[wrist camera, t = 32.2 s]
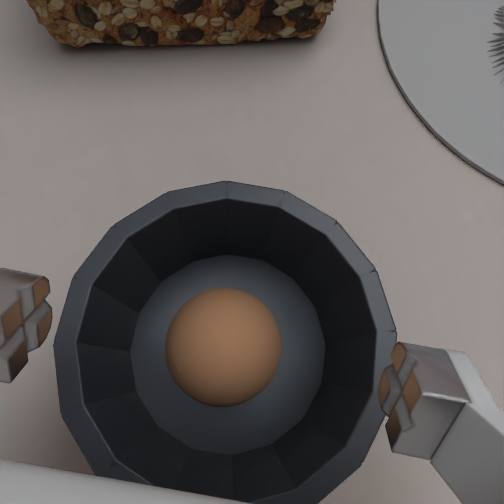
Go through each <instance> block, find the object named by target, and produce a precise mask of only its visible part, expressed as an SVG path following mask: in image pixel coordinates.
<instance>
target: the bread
mask: <svg viewBox="0 0 504 504" xmlns="http://www.w3.org/2000/svg"><path fill="white" fill-rule="evenodd" d="M27 2H28V4H29V6H30V7H31V8H32V9H33V10H34V12H35V15H36V18H37V21H38V23H40V24H43V25H44V26H45V28H46V29H47V30H48V32H49V33H50V34H51V36H53V37H54V39H55V40H56V41H58V42H60V43H63V44H67V45H71V46H74V47H77V48H80V47H81V46H83V45H85V44H86V43H96V42H97V43H108V44H118V43H121V44H123V45H128V46H145V45H149V46H152V47H153V46H156V45H188V44H199V45H216V44H237V43H240V42H242V41H260V40H261V39H268V40H274V39H276V38H279V37H285V38H286V37H299V38H306V37H310V36H313V35H316V34H318V33H319V32H320V31H321V30H322V28H323V26H324V24H325V22H326V17H327V15H331V11H333V3H335V2H336V0H27Z"/></svg>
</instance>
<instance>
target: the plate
mask: <svg viewBox="0 0 504 504" xmlns="http://www.w3.org/2000/svg"><path fill="white" fill-rule="evenodd" d="M377 12H378V26H379V34H380V40H381V44H382V47H383V51H384V55H385V58H386V61H387V64H388V66H389V69H390V72H391V74H392V76H393V78H394V80H395V82H396V83H397V85H398V87H399V89H400V91H401V92H402V94H403V96H404V97H405V99H406V100H407V102H408V104H409V105H410V106H411V108H412V109H413V110H414V111H415V113H416V114H417V115H418V117H419V118H420V119H421V120H422V122H423V123H424V124H425V125H426V126H427V127H428V128H429V130H430V131H431V132H432V133H433V134H434V135H435V136H436V137H437V138H438V139H439V140H441V141H442V142H443V143H444V144H445V145H446V146H447V147H448V148H449V149H451V150H452V151H453V152H454V153H456V154H457V155H458V156H459V157H461V158H462V159H463V160H464V161H466V162H467V163H469V164H470V165H472V166H473V167H475V168H476V169H478V170H479V171H481V172H482V173H484V174H486V175H487V176H489V177H491V178H493V179H494V180H496V181H498V182H500V183H501V184H503V185H504V0H378V7H377Z"/></svg>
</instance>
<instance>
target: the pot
mask: <svg viewBox="0 0 504 504" xmlns="http://www.w3.org/2000/svg"><path fill="white" fill-rule="evenodd" d="M73 277H74V278H72V281H71V284H70V288H69V291H68V295H67V298H66V302H65V305H64V308H63V312H62V315H61V319H60V322H59V326H58V329H57V333H56V336H55V339H54V344H53V347H54V357H55V366H56V375H57V384H58V394H59V403H60V412H61V415H62V418H63V420H64V421H65V423H66V425H67V427H68V428H69V430H70V432H71V434H72V435H73V437H74V439H75V441H76V442H77V444H78V446H79V448H80V449H81V451H82V453H83V454H84V456H85V458H86V460H87V461H88V463H89V465H90V467H91V468H92V470H93V472H94V474H95V475H96V476H100V477H106V478H112V479H117V480H123V481H128V482H134V483H140V484H145V485H151V486H156V487H162V488H168V489H173V490H179V491H184V492H190V493H195V494H201V495H207V496H212V497H218V498H223V499H229V500H235V501H240V502H246V503H251V504H318V503H319V502H320V501H321V500H323V499H324V498H325V497H326V496H327V495H328V494H329V493H331V492H332V491H333V490H334V489H335V488H336V487H337V486H339V485H340V484H341V483H342V482H343V481H344V480H345V479H347V478H348V477H349V476H350V475H351V474H352V473H353V472H355V471H356V470H357V469H358V468H359V467H360V466H361V465H362V464H361V463H363V462H364V460H365V458H366V455H367V453H368V451H369V449H370V447H371V445H372V443H373V441H374V439H375V437H376V434H377V432H378V430H379V428H380V426H381V424H382V422H383V420H384V418H385V416H386V414H385V413H384V412H383V411H382V410H381V407H380V403H379V394H378V390H379V382H380V378H381V375H382V373H383V370H384V368H386V367H388V366H389V365H391V364H392V363H393V361H392V358H391V355H390V354H391V352H392V350H393V348H394V346H395V345H396V342H397V332H396V327H395V324H394V321H393V318H392V315H391V312H390V309H389V306H388V303H387V300H386V297H385V294H384V291H383V287H382V284H381V281H380V278H379V275H378V272H377V271H376V269H375V267H374V266H373V264H372V263H371V262H370V261H369V259H368V258H367V257H366V256H365V255H364V253H363V252H362V251H361V250H360V248H359V247H358V246H357V245H356V243H355V242H354V241H353V240H352V239H351V237H350V236H349V235H348V234H347V232H346V231H345V230H344V229H343V227H342V226H341V225H340V224H339V223H338V222H337V220H335V219H333V218H332V217H330V216H328V215H327V214H325V213H323V212H321V211H320V210H318V209H316V208H315V207H313V206H311V205H309V204H308V203H306V202H304V201H303V200H301V199H299V198H297V197H296V196H294V195H292V194H291V193H289V192H287V191H284V190H279V189H273V188H267V187H261V186H255V185H249V184H243V183H237V182H231V181H227V182H226V181H221V182H216V183H211V184H205V185H200V186H195V187H190V188H185V189H180V190H174V191H169V192H167V193H164V194H163V195H161V196H159V197H158V198H156V199H155V200H153V201H151V202H150V203H148V204H146V205H145V206H143V207H142V208H140V209H138V210H137V211H135V212H133V213H132V214H130V215H129V216H127V217H125V218H124V219H122V220H120V221H119V222H117V223H115V224H114V226H112V227H111V228H110V229H109V230H108V232H107V233H106V234H105V236H104V237H103V238H102V240H101V241H100V242H99V243H98V245H97V246H96V247H95V249H94V250H93V251H92V253H91V254H90V255H89V256H88V258H87V259H86V260H85V262H84V263H83V264H82V265H81V267H80V268H79V269H78V271H77V272H76V273H75V275H74V276H73ZM221 287H224V288H234V289H238V290H242V291H245V292H247V293H249V294H251V295H253V296H254V297H256V298H257V299H259V300H260V301H261V302H262V303H264V304H265V305H266V307H267V308H268V309H269V310H270V312H271V313H272V315H273V317H274V319H275V321H276V323H277V325H278V328H279V332H280V337H281V355H280V360H279V365H278V368H277V370H276V372H275V374H274V376H273V378H272V380H271V381H270V382H269V383H268V385H267V386H266V387H265V388H264V389H263V390H262V392H260V393H259V394H257V395H256V396H254V397H253V398H251V399H250V400H249V401H246V402H244V403H241V404H238V405H233V406H228V407H221V406H211V405H207V404H203V403H201V402H199V401H197V400H195V399H194V398H192V397H190V396H188V395H187V394H186V393H185V392H184V391H183V390H182V389H181V388H180V387H179V386H178V385H177V383H176V382H175V381H174V379H173V377H172V375H171V372H170V370H169V368H168V365H167V360H166V353H165V344H166V335H167V331H168V327H169V325H170V323H171V321H172V319H173V317H174V316H175V314H176V313H177V312H178V310H179V309H180V308H181V306H182V305H183V304H185V303H186V302H187V301H188V300H189V299H191V298H192V297H194V296H195V295H197V294H199V293H201V292H203V291H206V290H209V289H213V288H221Z"/></svg>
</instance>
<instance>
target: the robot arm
mask: <svg viewBox="0 0 504 504" xmlns="http://www.w3.org/2000/svg"><path fill="white" fill-rule="evenodd" d="M49 293H50V286H49V280H48V279H47V278H46V277H45V276H40V275H35V274H30V273H26V272H21V271H16V270H11V269H6V268H0V382H4V383H11V382H12V381H13V380H14V378H15V377H16V376H17V375H18V374H19V372H20V371H21V370H22V369H23V367H24V366H25V365H26V364H27V362H28V355H27V353H28V352H30V351H32V350H35V349H37V348H39V347H40V346H41V344H42V343H43V342H44V340H45V339H46V337H47V335H48V333H49V330H50V328H51V323H52V308H51V306H50V305H49V304H48V303H47V301H46V300H45V298H46V297H47V296H48V294H49ZM390 355H391V358H392V361H393V363H392V364H391V365H389V366H388V367H386V368H384V370H383V373H382V375H381V378H380V382H379V390H378V394H379V403H380V407H381V410H382V411H383V412H384V413H385V414H386V415H387V416H388V417H389V419H388V421H387V423H386V425H385V427H386V431H387V435H388V439H389V443H390V447H391V451H392V452H393V453H398V454H402V455H407V456H412V457H417V458H422V459H426V460H431V461H430V463H431V464H432V465H433V467H434V468H435V469H436V471H437V472H438V473H439V474H440V476H441V477H442V478H443V480H444V481H445V482H446V483H447V485H448V486H449V487H450V488H451V490H452V491H453V492H454V494H455V495H456V496H457V497H458V499H459V500H460V501H461V503H462V504H504V409H500V408H498V407H497V405H496V403H495V401H494V400H493V398H492V396H491V394H490V393H489V391H488V389H487V387H486V386H485V384H484V382H483V380H482V379H481V377H480V375H479V373H478V371H477V370H476V368H475V366H474V364H473V363H472V361H471V359H470V357H469V356H468V355H467V354H466V353H464V352H461V351H454V350H448V349H437V348H431V347H426V346H420V345H415V344H409V343H403V342H398V343H397V344H396V345H395V346H394V348H393V350H392V352H391V354H390ZM0 504H251V503H246V502H240V501H235V500H229V499H223V498H218V497H212V496H207V495H201V494H195V493H190V492H184V491H179V490H173V489H168V488H162V487H156V486H151V485H145V484H140V483H134V482H128V481H123V480H117V479H112V478H106V477H100V476H95V475H89V474H84V473H78V472H72V471H67V470H61V469H56V468H50V467H44V466H39V465H33V464H28V463H22V462H16V461H11V460H5V459H0Z"/></svg>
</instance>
